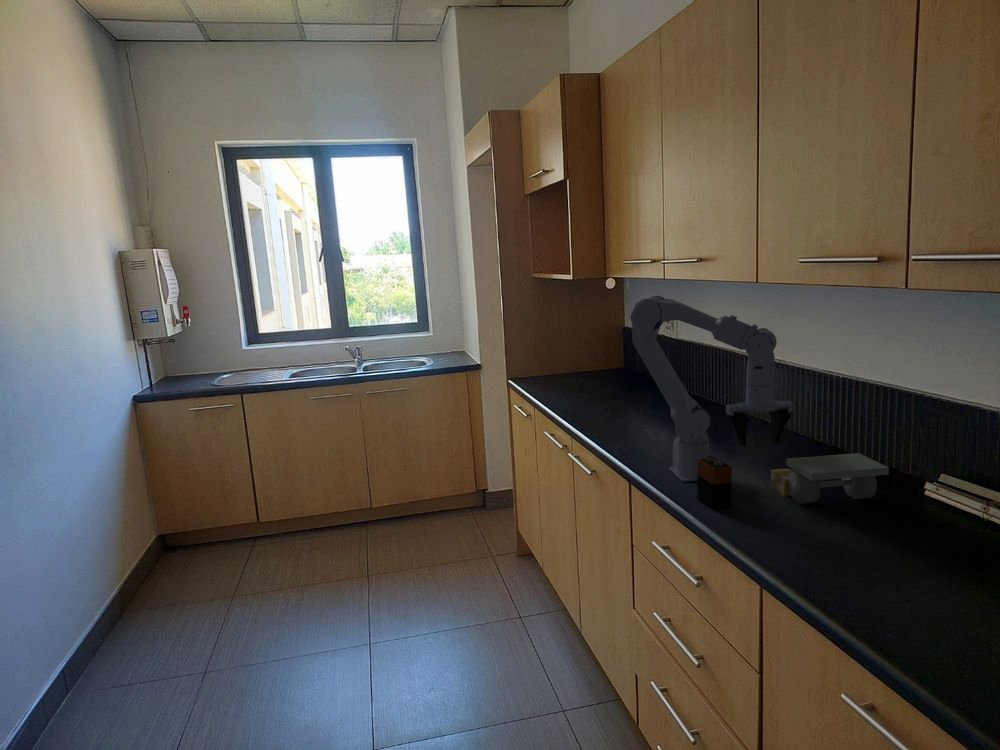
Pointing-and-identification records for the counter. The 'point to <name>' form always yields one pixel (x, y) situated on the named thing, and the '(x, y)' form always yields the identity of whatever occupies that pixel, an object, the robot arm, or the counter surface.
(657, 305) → the robot arm
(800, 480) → the trolley
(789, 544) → the counter surface
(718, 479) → the battery
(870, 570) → the counter surface
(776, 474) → the chock
